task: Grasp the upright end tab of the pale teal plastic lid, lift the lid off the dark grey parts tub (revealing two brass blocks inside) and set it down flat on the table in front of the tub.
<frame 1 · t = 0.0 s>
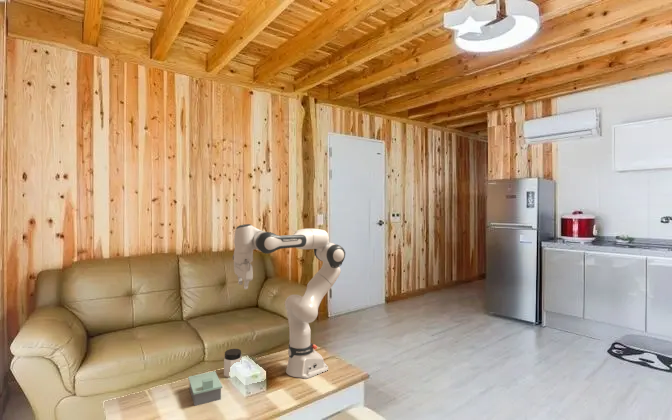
hand: (243, 286, 171), 48 cm above the table, fingers open, 8 cm apart
jar: (232, 375, 181), on the table
lid: (204, 383, 161), point 6 cm above the table, touching tub
part b: (206, 396, 159), point 1 cm above the table, touching tub
part a: (203, 390, 164), point 1 cm above the table, touching tub
tub: (204, 396, 161), on the table
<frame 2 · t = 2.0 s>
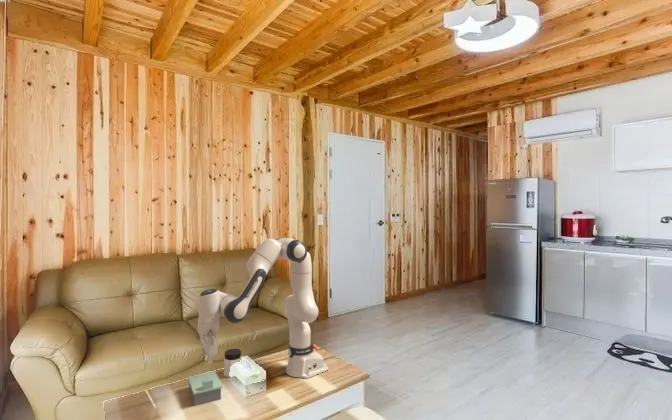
hand: (207, 358, 155), 20 cm above the table, fingers open, 8 cm apart
nothing on the table moved.
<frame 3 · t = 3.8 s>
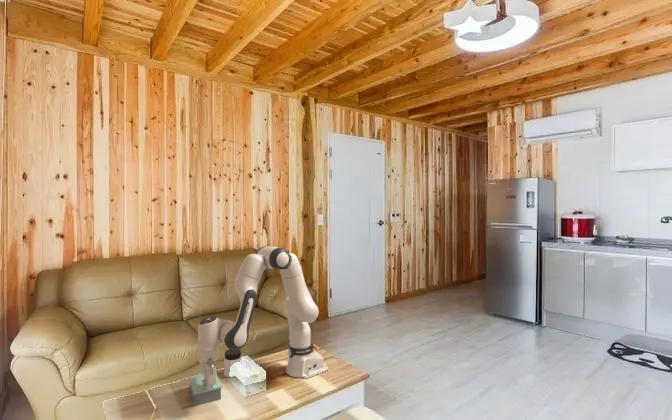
hand: (207, 385, 155), 8 cm above the table, fingers closed on lid, 2 cm apart
lid: (204, 383, 161), point 6 cm above the table, touching gripper, tub
everything else where it was.
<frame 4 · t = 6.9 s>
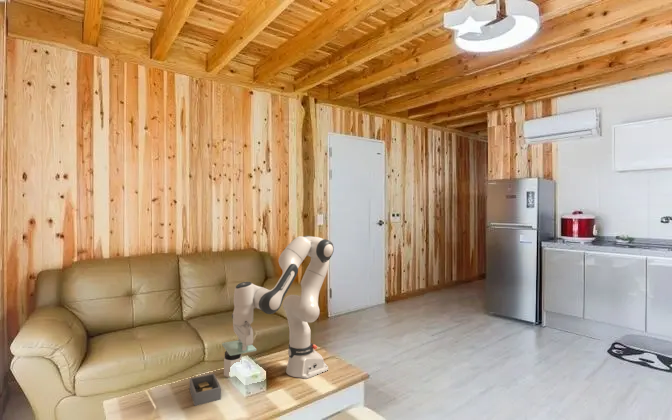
hand: (242, 348, 162), 22 cm above the table, fingers closed on lid, 3 cm apart
lid: (238, 347, 167), point 20 cm above the table, touching gripper
everything else where it was.
when the fingers open (3 cm above the table, at t = 9.8 s): lid drops 2 cm, on the table.
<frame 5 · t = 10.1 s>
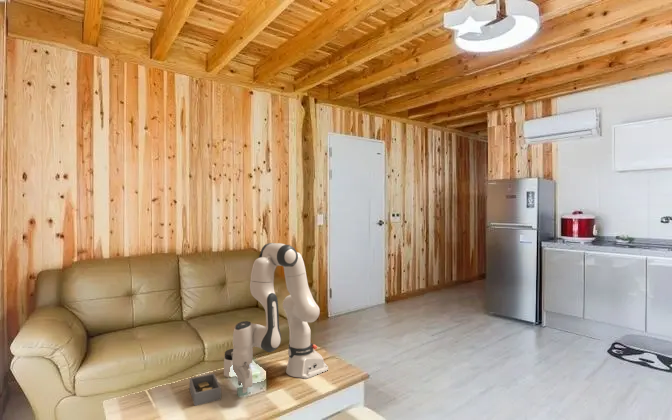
hand: (242, 388, 162), 3 cm above the table, fingers open, 6 cm apart
lid: (238, 390, 167), on the table
everything else where it was.
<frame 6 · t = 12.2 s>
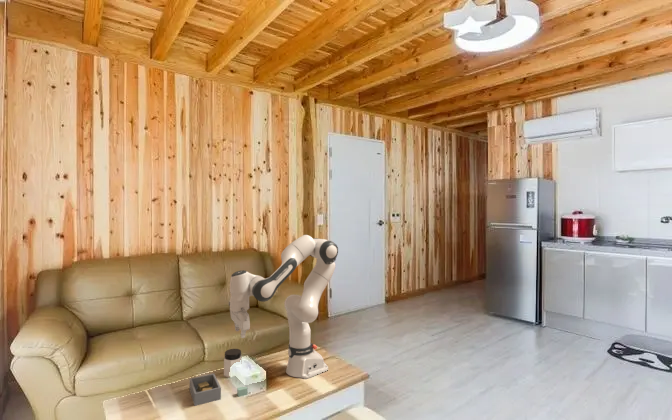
hand: (240, 333, 169), 26 cm above the table, fingers open, 8 cm apart
nothing on the table moved.
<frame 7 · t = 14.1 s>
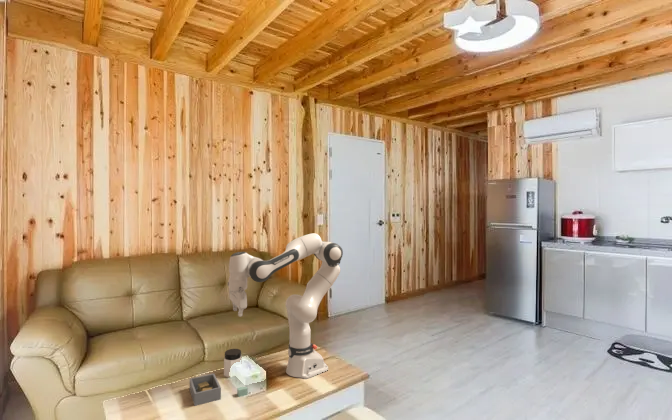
hand: (237, 313, 174), 34 cm above the table, fingers open, 8 cm apart
nothing on the table moved.
at the end: lid inside the target area (0.8 cm from its centre), on the table; lid tilted 0°; the gripper is holding nothing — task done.
